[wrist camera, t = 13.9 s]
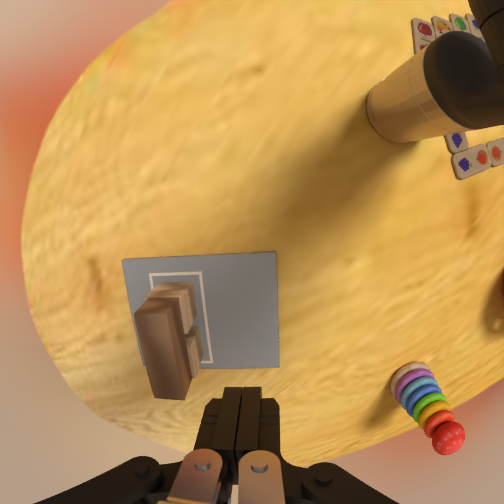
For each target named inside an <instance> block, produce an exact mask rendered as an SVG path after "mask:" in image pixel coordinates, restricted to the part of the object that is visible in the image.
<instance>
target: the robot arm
mask: <svg viewBox="0 0 504 504" xmlns="http://www.w3.org/2000/svg"><path fill="white" fill-rule="evenodd" d="M468 2H469V6H470V8H471V11H472V13H473V16H474V18H475V20H476V23H477V25H478V27H479V29H480V31H481V33H482V36H483V38H484V40H485V42H486V43H485V42H484V41H483V40H481V39H480V38H478V37H476V36H475V35H473V34H470V33H467V32H464V31H450V32H447V33H444V34H442V35H441V36H439V37H438V38H436V39H435V40H434V41H432V42H431V43H430V44H428V45H427V46H426V47H424V48H423V49H422V50H421V51H419V52H418V53H417V54H415V55H414V56H413V57H412V58H410V59H409V60H408V61H406V62H405V63H404V64H402V65H401V66H400V67H399V68H397V69H396V70H395V71H393V72H392V73H391V74H390V75H388V76H387V77H386V78H384V79H383V80H382V81H381V82H379V83H378V84H377V85H376V86H374V87H373V89H372V90H371V91H370V93H369V95H368V97H367V102H366V110H367V115H368V118H369V121H370V123H371V124H372V126H373V128H374V129H375V130H376V131H377V132H378V134H380V135H381V136H382V137H383V138H385V139H387V140H389V141H391V142H395V143H407V142H412V141H418V140H423V139H428V138H433V137H438V136H444V135H449V134H455V133H460V132H465V131H471V130H477V129H483V128H488V127H493V126H499V125H504V0H468ZM232 485H239V487H238V504H399V503H397V502H395V501H394V500H392V499H390V498H388V497H387V496H385V495H383V494H382V493H380V492H378V491H377V490H375V489H373V488H372V487H370V486H368V485H367V484H365V483H364V482H362V481H360V480H359V479H357V478H356V477H354V476H353V475H351V474H350V473H348V472H347V471H345V470H344V469H342V468H340V467H339V466H337V465H335V464H333V463H327V462H322V463H317V464H314V465H312V466H310V467H309V468H302V467H297V466H294V465H291V464H289V463H287V462H286V461H285V460H284V459H283V457H282V456H281V453H280V414H279V405H278V403H277V402H276V400H275V399H274V398H262V389H261V387H244V388H243V387H225V388H224V393H223V397H222V399H216V398H212V400H211V401H210V402H209V403H208V404H207V405H206V406H205V410H204V413H203V417H202V420H201V424H200V428H199V431H198V435H197V439H196V442H195V446H194V449H193V451H191V452H190V453H188V454H187V455H186V456H185V457H184V459H183V460H182V461H180V462H176V463H170V464H162V465H159V463H158V462H157V461H156V460H155V459H153V458H151V457H147V456H138V457H135V458H132V459H130V460H128V461H126V462H124V463H123V464H121V465H119V466H117V467H115V468H113V469H111V470H109V471H107V472H105V473H103V474H101V475H99V476H97V477H95V478H93V479H91V480H89V481H86V482H84V483H82V484H80V485H78V486H75V487H73V488H71V489H69V490H66V491H64V492H62V493H59V494H57V495H55V496H52V497H50V498H47V499H45V500H42V501H39V502H37V503H34V504H230V503H231V493H232Z"/></svg>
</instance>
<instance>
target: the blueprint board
mask: <svg viewBox="0 0 504 504" xmlns="http://www.w3.org/2000/svg"><path fill="white" fill-rule="evenodd" d="M122 265H123V271H124V277H125V283H126V288H127V293H128V299H129V304H130V309H131V314H132V318H133V323H134V327H135V332H136V336H137V340H138V345H139V349H140V353H141V357H142V361H143V364H144V366H146V365H145V362H144V358H143V354H142V350H141V345H140V341H139V337H138V333H137V328H136V324H135V319H134V313H135V312H136V311H137V310H138V309H139V308H140V306H141V305H142V304H143V303H144V302H145V297H146V296H147V295H148V294H149V293H150V292H151V291H152V289H153V288H154V287H155V286H156V285H157V284H158V283H159V282H193V286H194V294H195V302H196V309H197V316H196V318H195V320H194V322H193V324H192V326H191V327H199V331H200V338H201V344H202V351H203V357H202V360H201V363H200V366H199V368H202V369H248V368H278V367H280V365H279V329H278V299H277V273H276V252H275V251H274V252H254V253H233V254H213V255H192V256H172V257H151V258H130V259H123V260H122Z"/></svg>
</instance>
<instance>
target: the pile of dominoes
mask: <svg viewBox="0 0 504 504" xmlns="http://www.w3.org/2000/svg"><path fill="white" fill-rule="evenodd" d="M449 20H450V22H449V21H448V20H445V19H443V18H440V17H437V16H434V17H432V18H431V21H432V24H431V23H429V22H426V21H424V20H421V19H418V18H414V19H412V21H411V25H412V33H413V42H414V53H415V54H417V53H418V52H419V51H421V50H422V49H423V48H424V47H426V46H427V45H428V44H430V43H431V42H432V41H434V40H435V39H436V38H438V37H439V36H441V35H442V34H444V33H447V32H450V31H464V32H467V33H470V34H473V35H475V36H476V37H478V38H480V39H481V40H483V41H484V42H485V40H484V38H483V36H482V33H481V31H480V29H479V27H478V25H477V23H476V20H475V18H474V16H473V15H471V14H466V15H465V18H463V17H461V16H458V15H456V14H450V15H449ZM485 43H486V42H485ZM444 136H445V139H446V143H447V146H448V149H449V151H450V152H451V153H452V156H451V161H452V165H453V168H454V171H455V174H456V177H457V178H458V179H465V178H467V177H469V176H472V175H474V174H477V173H479V172H481V171H484V170H486V169H488V168H490V166H492V167H495V166H498V165H500V164H503V163H504V138H500V139H497V140H494V141H491V142H488V143H487V144H486V146H485V145H484V144H480V145H477V146H474V147H471V148H468V141H467V138H466V134H465V132H460V133H455V134H449V135H444ZM467 148H468V149H467Z"/></svg>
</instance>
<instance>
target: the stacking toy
mask: <svg viewBox="0 0 504 504" xmlns="http://www.w3.org/2000/svg"><path fill="white" fill-rule="evenodd" d="M390 389H391V392H392V394H393V396H394V397H395V398H396V399H397V401H398V402H399V403H401V405H402V407H403V408H404V409H405V410H407V413H408V414H409V415H410V416H411V417H413V419H414V420H415V421H416V422H417V423H418V424H419V426H420V428H421V429H423V430H424V431H425V434H426V436H428V437H429V438H432V445H433V448H434V450H435V451H436V452H437V453H439V454H441V455H450V454H452V453H454V452H456V451H457V450H458V449H459V448H460V447H461V446H462V444H463V442H464V440H465V431H464V428H463V427H462V426H461V425H460V424H459V423H456V422H454V414H453V413H452V412H451V411H450V406H449V404H448V403H447V402H446V398H445V396H444V395H443V394H442V391H441V389H440V388H439V386H438V383H437V381H436V380H435V378H434V375H433V373H432V372H431V370H430V368H429V366H428V365H426V364H425V363H423V362H412V363H409V364H407V365H405V366H404V367H402V368H401V369H400V370H398V371H397V373H396V374H395V375H394V377H393V379H392V381H391V386H390Z"/></svg>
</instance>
